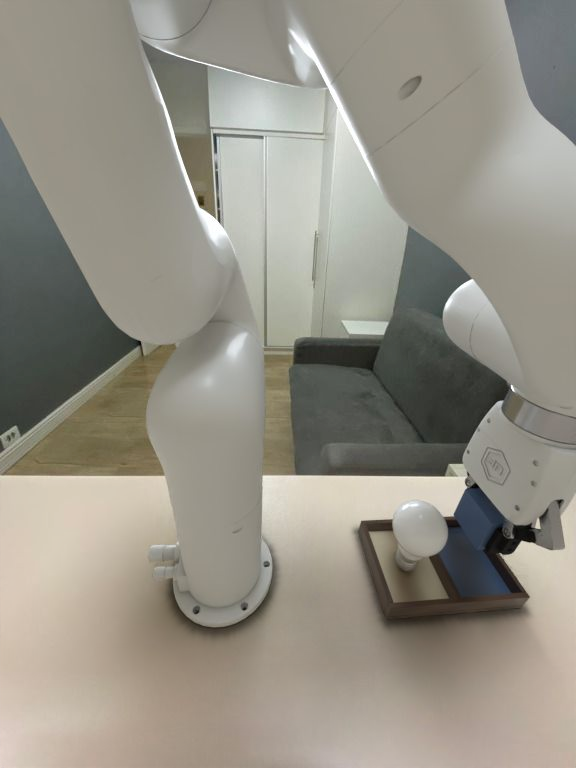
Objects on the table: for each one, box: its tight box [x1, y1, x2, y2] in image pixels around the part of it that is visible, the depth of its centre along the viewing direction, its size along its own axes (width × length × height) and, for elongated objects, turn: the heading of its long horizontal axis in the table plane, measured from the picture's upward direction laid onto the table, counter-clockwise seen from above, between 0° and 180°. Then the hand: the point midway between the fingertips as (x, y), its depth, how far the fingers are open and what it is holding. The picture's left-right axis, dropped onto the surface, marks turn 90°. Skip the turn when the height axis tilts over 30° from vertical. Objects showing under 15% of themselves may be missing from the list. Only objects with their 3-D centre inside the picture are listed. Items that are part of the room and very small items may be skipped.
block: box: [452, 488, 505, 550], centre depth 38 cm, size 5×5×5 cm
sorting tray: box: [357, 515, 531, 620], centre depth 42 cm, size 18×12×3 cm, turn 96°
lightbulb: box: [392, 499, 448, 571], centre depth 39 cm, size 6×6×11 cm
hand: (482, 528), depth 39 cm, fingers closed on block, 5 cm apart
